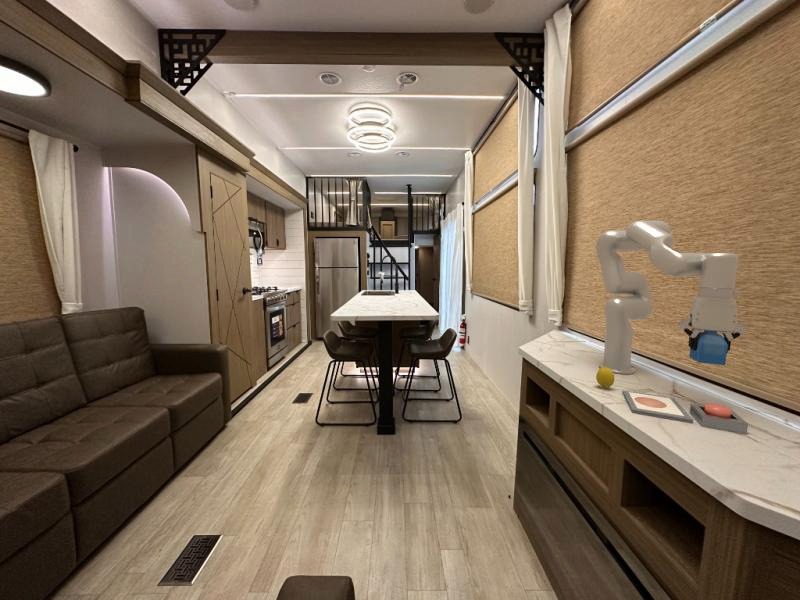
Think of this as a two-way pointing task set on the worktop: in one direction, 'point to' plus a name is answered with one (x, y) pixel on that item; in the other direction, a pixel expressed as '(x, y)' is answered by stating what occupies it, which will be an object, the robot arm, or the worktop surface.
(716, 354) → the perfume bottle
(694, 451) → the worktop surface
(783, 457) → the worktop surface
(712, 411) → the button
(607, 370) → the lemon
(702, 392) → the worktop surface
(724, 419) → the button base
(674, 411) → the board
